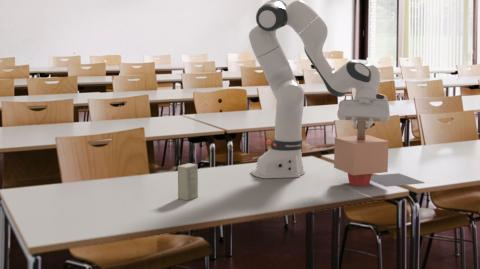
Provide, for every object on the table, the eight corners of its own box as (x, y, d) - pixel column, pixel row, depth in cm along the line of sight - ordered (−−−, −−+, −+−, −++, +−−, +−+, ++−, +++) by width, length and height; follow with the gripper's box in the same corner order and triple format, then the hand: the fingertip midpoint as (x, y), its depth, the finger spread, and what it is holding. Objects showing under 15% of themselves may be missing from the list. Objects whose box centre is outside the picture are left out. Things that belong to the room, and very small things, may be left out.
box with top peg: (353, 175, 256) (354, 125, 253) (334, 167, 270) (334, 119, 266) (387, 172, 261) (389, 123, 258) (366, 164, 275) (368, 117, 272)
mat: (385, 187, 261) (386, 186, 261) (361, 177, 278) (361, 176, 278) (425, 183, 268) (425, 182, 268) (398, 174, 284) (399, 173, 284)
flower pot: (373, 188, 260) (374, 163, 258) (344, 186, 262) (345, 162, 261) (373, 182, 270) (374, 158, 269) (345, 180, 272) (346, 156, 271)
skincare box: (189, 195, 248) (189, 162, 246) (198, 197, 246) (198, 164, 244) (177, 198, 244) (177, 165, 242) (186, 200, 241) (186, 167, 239)
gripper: (338, 94, 270) (333, 122, 263) (391, 96, 264) (387, 124, 256) (340, 104, 275) (335, 131, 268) (392, 106, 269) (388, 134, 261)
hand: (361, 128), depth 262 cm, fingers closed on box with top peg, 3 cm apart
